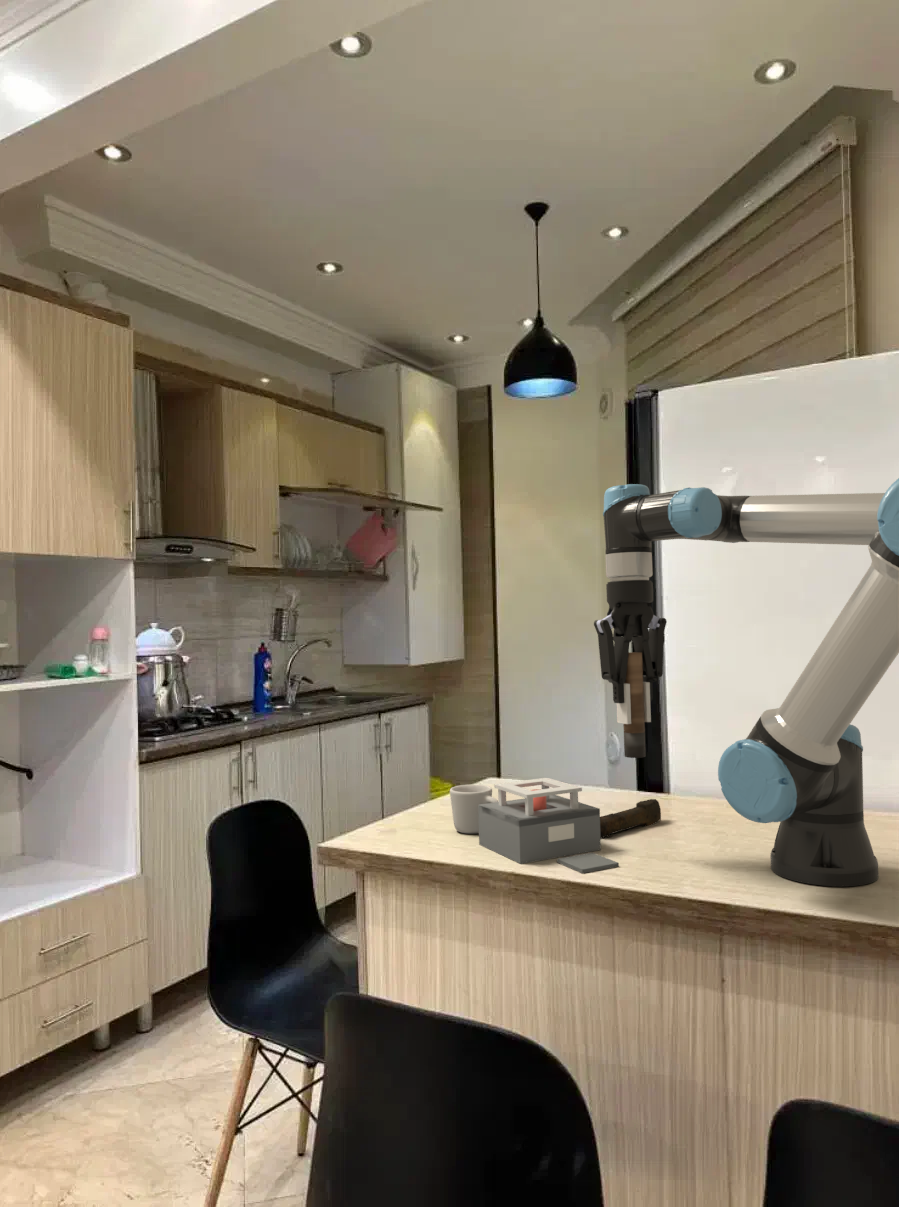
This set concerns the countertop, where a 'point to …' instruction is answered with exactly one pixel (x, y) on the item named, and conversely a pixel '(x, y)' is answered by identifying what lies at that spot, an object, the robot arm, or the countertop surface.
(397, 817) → the countertop surface
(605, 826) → the hand tool
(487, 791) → the cup
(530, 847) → the framed red button box
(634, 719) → the brown wooden rod
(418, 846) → the countertop surface
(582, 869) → the pad
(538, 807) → the plunger
